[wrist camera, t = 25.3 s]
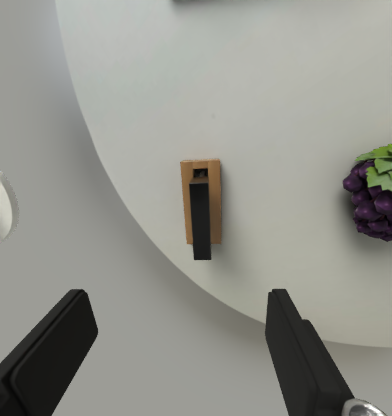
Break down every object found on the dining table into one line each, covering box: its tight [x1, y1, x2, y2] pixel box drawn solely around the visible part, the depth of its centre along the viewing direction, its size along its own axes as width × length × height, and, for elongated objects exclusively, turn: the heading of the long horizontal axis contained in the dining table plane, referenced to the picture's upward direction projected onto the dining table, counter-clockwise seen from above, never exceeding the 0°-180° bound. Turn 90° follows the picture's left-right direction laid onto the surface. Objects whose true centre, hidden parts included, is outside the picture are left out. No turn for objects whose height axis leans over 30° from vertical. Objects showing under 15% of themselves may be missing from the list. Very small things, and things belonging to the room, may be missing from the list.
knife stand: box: [180, 159, 221, 244], centre depth 28 cm, size 5×12×2 cm, turn 3°
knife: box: [189, 171, 211, 260], centre depth 24 cm, size 2×9×9 cm, turn 3°
